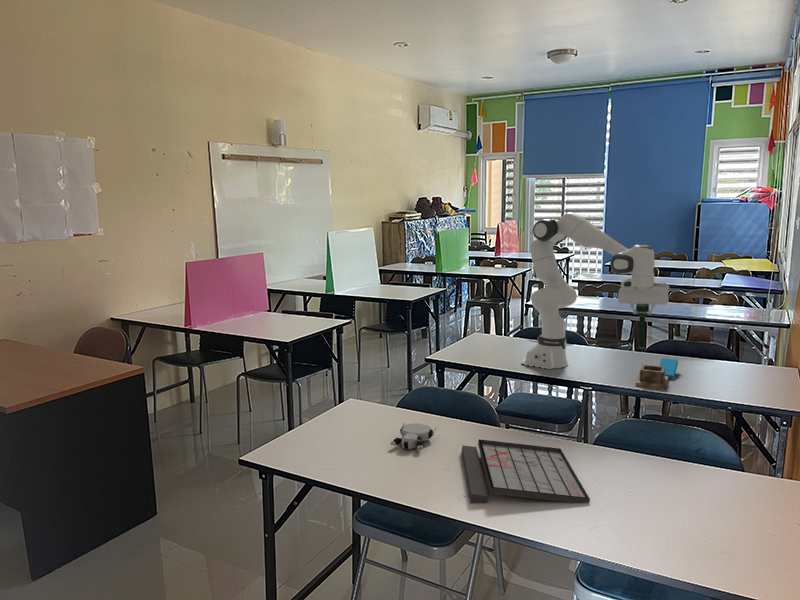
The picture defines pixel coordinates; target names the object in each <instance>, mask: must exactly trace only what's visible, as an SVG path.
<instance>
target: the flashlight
mask: <svg viewBox="0 0 800 600" xmlns="http://www.w3.org/2000/svg"><path fill="white" fill-rule="evenodd" d="M635 305H636V306H635V309H636V310H637V314H638V316H639V321H638V323H639V325H638V327H639V330H638V331H639V332H638V333H639V334H638V350H640V351H644V350H645V345H646V344H645V341H646V339H645V338H646V337H645V336H646V315H648V310H650V304H635Z"/></svg>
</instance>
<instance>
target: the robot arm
mask: <svg viewBox="0 0 800 600" xmlns="http://www.w3.org/2000/svg"><path fill="white" fill-rule="evenodd" d="M532 234H533V237H534V238H535V239H534V240H532V241H531V243H530V244H529V248H530V249H529V250H530V257H531V261H532V265H533V269H534V274H535V277H536V278H537V280H539V281H541V282H542V283H543V285H545V287H542V288H540V289H538V290H535V291H533V293H532V294H531V297H530V299H531V304H532V306H533V308H534V309H535V310H536V311H538V314H539V316H540V318H541V334H540V335H538V337H537V343H536V344H535V345H533V346H531V347H530V348H528V350H527V351H526V354H525V357H524V358H522V359H521V363H522V364H524V365H523V366H527V365H529V366H528V367H533V366H535V367H534V368H539V367H541V368H540V369H545V368H546V369H545V370H554V369H561V368H562V367H563V368H566V367H568V366H569V363H568V359H567V354H566V348H567V336H566V321H565V319H564V318H562V317H561V315H560V312H559V310H560V309H563V308H568V307H570V306H572V305H573V304H575V302H576V301H577V297H578V296H577V295H578V294H577V291H576V289H575V288H574V287H573V286H572V285H570V284H568V283H567V281H566V280H565V278H564V277H563V275H562V274H561V271H560V269H559V267H558V262H557V260H556V255H555V252H554V246H558V245H559V244H561V243H562V242H563V241H564V240H566V239H567V238H569V239H570V240H572V241H573V242H574V243H576V244H578V245H580V246H581V247H584V248H591V249H594V248H595V249H600V250H603V251H605V252H607V253H609V254H610V255H612V257H611V259H610V261H609V262H610V263H609V265H610V268H611V270H612V271H613V272H614V273H615V274H618V275H627V274H628V275H629V274H631V278H628V279H625V280H623V281H620V286H621V287H620V288H619V289H618V293H617V302H618V303H619V304H629V305H630V308H631V309H632V314H633V315H637V314H638V313H637V310H636V307H634V306H635V305H636V304H649V305H650V307H651V308H650V309H649V310H648V313H647V315H652V314H653V310H654V308H655V307H656V305H667V304H669V292H670V285H669V284H668V283H666V282H655V273H654V268H655V252H654V248H653V247H652V246H650V245H647V244H635V245H633V247H631V248H629V247H628V246H626V245H624V244H623V243H621V242H619V241H617V240H616V239H615V238H613V237H611V236H610V235H608V234H606V232H604V231H602V230H601V229H599V228H598V227H597V226H595V225H594V224H593V223H591V222H590V221H588V220H587V219H586V218H584V217H583V216H581V215H580V214H576V213H575V212H570V211H568V212H566V213H564V214H563V215H562V216H561V217H560V218H559V219H556V218H544V219H540V220H538V221H536V222H535V223H534V224H533V226H532ZM521 363H520V364H521ZM522 364H521V365H522ZM553 368H554V369H553ZM563 368H562V369H563Z"/></svg>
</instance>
